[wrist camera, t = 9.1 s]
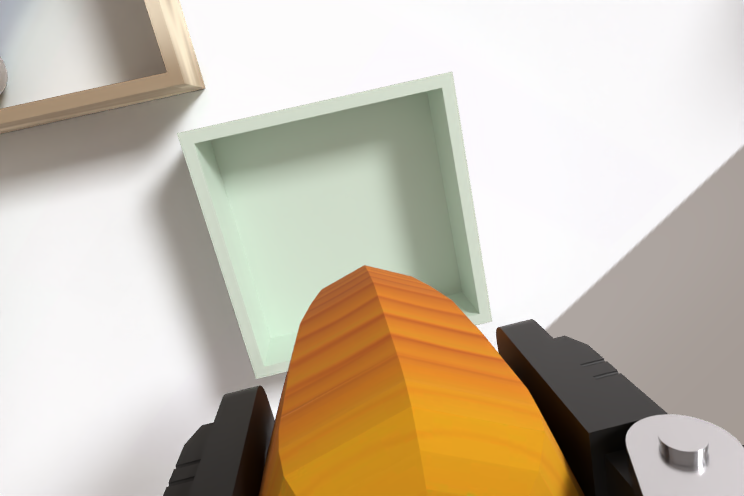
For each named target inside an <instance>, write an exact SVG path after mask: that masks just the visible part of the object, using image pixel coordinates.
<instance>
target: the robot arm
mask: <svg viewBox="0 0 744 496" xmlns="http://www.w3.org/2000/svg"><path fill="white" fill-rule="evenodd" d="M496 338H497V345H498V351H499V354H500V356H501V357H502V358H503V359H504V361H505V362H506V363H507V364H508V365H509V367H510V368H511V369H512V370H513V372H514V373H515V374H516V375H517V376H518V378H519V379H520V380H521V381H522V383H523V384H524V385H525V386H526V388H527V389H528V390H529V392H530V394H531V396H532V398H533V399H534V401H535V403H536V405H537V407H538V408H539V410H540V412H541V414H542V416H543V418H544V420H545V422H546V423H547V425H548V427H549V429H550V431H551V433H552V435H553V437H554V438H555V440H556V442H557V444H558V446H559V448H560V450H561V452H562V453H563V455H564V457H565V459H566V461H567V463H568V465H569V467H570V469H571V470H572V472H573V474H574V476H575V478H576V480H577V482H578V484H579V485H580V487H581V489H582V491H583V493H584V495H585V496H744V445H741V444H740V442H739V441H738V440H737V439H736V438H735V437H734V436H733V435H731V434H730V433H728V432H727V431H725V430H724V429H722V428H720V427H718V426H717V425H715V424H712V423H710V422H707V421H705V420H701V419H698V418H694V417H690V416H684V415H672V414H667V413H666V412H665V411H664V410H663V409H662V408H660V407H659V406H658V405H657V404H656V403H655V402H653V401H652V400H651V399H650V398H649V397H648V396H646V395H645V394H644V393H643V392H642V391H641V390H640V389H638V388H637V387H636V386H635V385H634V384H633V383H631V382H630V381H629V380H628V379H627V378H626V377H625V376H623V375H622V374H619V373H618V371H617V370H616V369H615V368H614V367H613V366H612V365H611V364H609V363H608V362H605V361H604V358H602V357H601V356H600V355H599V354H598V353H597V352H596V351H594V350H593V349H592V348H591V347H590V346H588V345H587V344H584V343H582V342H579V341H577V340H574V339H571V338H569V337H567V336H562V337H558V338H554V339H553V338H552V337H551V336H550V335H549V334H548V333H547V332H546V331H545V330H544V329H543V328H542V327H541V326H540V325H539V324H538V323H537V322H536V321H534V320H533V319H530V320H526V321H522V322H518V323H514V324H510V325H506V326H502V327H498V328H497V330H496ZM274 423H275V420H274V417H273V414H272V411H271V408H270V404H269V401H268V398H267V395H266V393H265V390H264V389H263V387H262V386H256V387H252V388H248V389H244V390H240V391H236V392H232V393H228V394H225V395H224V396H223V398H222V401H221V404H220V406H219V409H218V412H217V415H216V418H215V420H214V422H213V423H209V424H205V425H202V426H201V427H200V428H199V429H198V430H197V431H196V433H195V434H194V435H193V436H192V437H191V438H190V439H189V440H188V441H187V443H186V444H185V445H184V447H183V449H182V452H181V454H180V457H179V459H178V461H177V464H176V469H174V471H173V473H172V476H171V478H170V480H169V487H167V488H166V490H165V492H164V495H163V496H259V491H260V486H261V481H262V476H263V471H264V466H265V461H266V456H267V452H268V447H269V443H270V439H271V435H272V431H273V427H274Z"/></svg>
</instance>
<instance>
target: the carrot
mask: <svg viewBox="0 0 744 496" xmlns="http://www.w3.org/2000/svg"><path fill="white" fill-rule="evenodd" d="M259 496H585V495H584V493H583V491H582V489H581V487H580V485H579V484H578V482H577V480H576V478H575V476H574V474H573V472H572V470H571V469H570V467H569V465H568V463H567V461H566V459H565V457H564V455H563V453H562V452H561V450H560V448H559V446H558V444H557V442H556V440H555V438H554V437H553V435H552V433H551V431H550V429H549V427H548V425H547V423H546V422H545V420H544V418H543V416H542V414H541V412H540V410H539V408H538V407H537V405H536V403H535V401H534V399H533V398H532V396H531V394H530V392H529V390H528V389H527V388H526V386H525V385H524V384H523V383H522V381H521V380H520V379H519V378H518V376H517V375H516V374H515V373H514V372H513V370H512V369H511V368H510V367H509V365H508V364H507V363H506V362H505V361H504V359H503V358H502V357H501V356H500V354H499V353H498V352H497V351H496V350H495V348H494V347H493V346H492V345H491V343H490V342H489V341H488V340H487V339H486V337H485V336H484V335H483V334H482V333H481V331H480V330H479V329H478V328H477V327H476V326H475V325H474V324H473V323H472V322H471V321H470V319H469V318H468V317H467V316H466V315H465V314H464V313H463V312H462V311H461V310H460V309H459V307H458V306H457V305H456V304H455V303H454V302H453V301H452V300H451V299H449V298H448V297H446V296H445V295H443V294H442V293H440V292H439V291H437V290H436V289H434V288H432V287H431V286H429V285H427V284H425V283H423V282H421V281H420V280H418V279H416V278H414V277H412V276H408V275H404V274H400V273H395V272H391V271H387V270H383V269H379V268H374V267H370V266H366V265H364V266H362V267H360V268H358V269H357V270H355V271H353V272H351V273H350V274H348V275H346V276H344V277H343V278H341V279H339V280H337V281H336V282H334V283H332V284H330V285H329V286H327V287H325V288H323V289H322V290H321V291H320V292H319V293H318V295H317V296H316V298H315V299H314V300H313V302H312V303H311V305H310V306H309V308H308V310H307V312H306V314H305V315H304V317H303V319H302V321H301V323H300V325H299V329H298V333H297V337H296V341H295V345H294V348H293V352H292V356H291V360H290V364H289V368H288V371H287V375H286V379H285V383H284V387H283V391H282V394H281V398H280V403H279V407H278V411H277V415H276V419H275V423H274V427H273V431H272V435H271V439H270V443H269V447H268V452H267V456H266V461H265V466H264V471H263V476H262V481H261V486H260V491H259Z"/></svg>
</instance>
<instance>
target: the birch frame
mask: <svg viewBox="0 0 744 496" xmlns="http://www.w3.org/2000/svg"><path fill="white" fill-rule="evenodd" d="M144 2H145V5H146V8H147V11H148V14H149V17H150V21H151V24H152V27H153V30H154V33H155V36H156V39H157V43H158V46H159V49H160V52H161V55H162V58H163V62H164V65H165V68H166V71H167V72H166V73H161V74H157V75H152V76H148V77H143V78H139V79H134V80H130V81H125V82H120V83H116V84H111V85H107V86H102V87H98V88H93V89H89V90H84V91H79V92H75V93H70V94H66V95H61V96H57V97H52V98H48V99H43V100H38V101H34V102H29V103H25V104H20V105H16V106H11V107H6V108H2V109H0V134H2V133H6V132H11V131H15V130H20V129H24V128H29V127H33V126H38V125H42V124H47V123H51V122H56V121H60V120H65V119H70V118H74V117H79V116H83V115H88V114H92V113H97V112H101V111H106V110H110V109H115V108H119V107H124V106H128V105H133V104H137V103H142V102H146V101H151V100H155V99H160V98H164V97H169V96H173V95H178V94H182V93H187V92H192V91H196V90H201V89H205V85H204V82H203V79H202V75H201V72H200V69H199V65H198V62H197V59H196V55H195V52H194V48H193V45H192V42H191V38H190V35H189V32H188V28H187V25H186V22H185V18H184V15H183V12H182V8H181V5H180V2H179V0H144Z"/></svg>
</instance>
